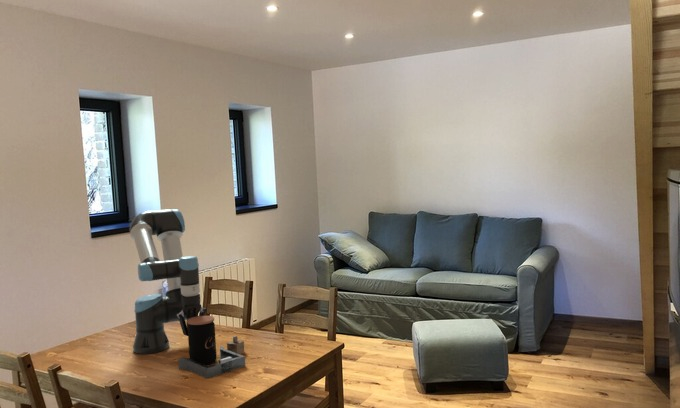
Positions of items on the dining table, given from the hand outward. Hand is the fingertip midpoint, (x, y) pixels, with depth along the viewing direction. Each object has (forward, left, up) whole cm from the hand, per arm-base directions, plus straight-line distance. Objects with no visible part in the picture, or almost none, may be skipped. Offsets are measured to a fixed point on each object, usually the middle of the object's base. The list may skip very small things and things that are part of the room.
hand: (194, 350), depth 233 cm
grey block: (+8, +15, -4) cm, 17 cm away
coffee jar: (+7, 0, -4) cm, 8 cm away
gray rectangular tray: (+15, 0, -4) cm, 16 cm away
